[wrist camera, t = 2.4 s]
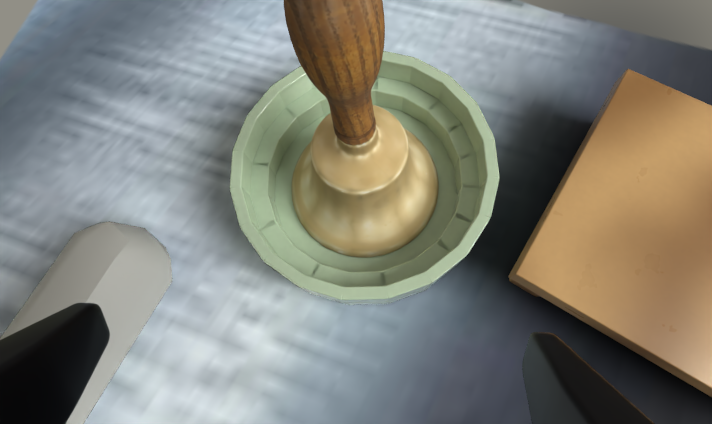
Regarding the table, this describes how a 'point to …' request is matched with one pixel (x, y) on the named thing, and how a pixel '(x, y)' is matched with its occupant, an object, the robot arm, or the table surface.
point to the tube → (103, 292)
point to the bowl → (416, 114)
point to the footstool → (635, 229)
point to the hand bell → (355, 137)
